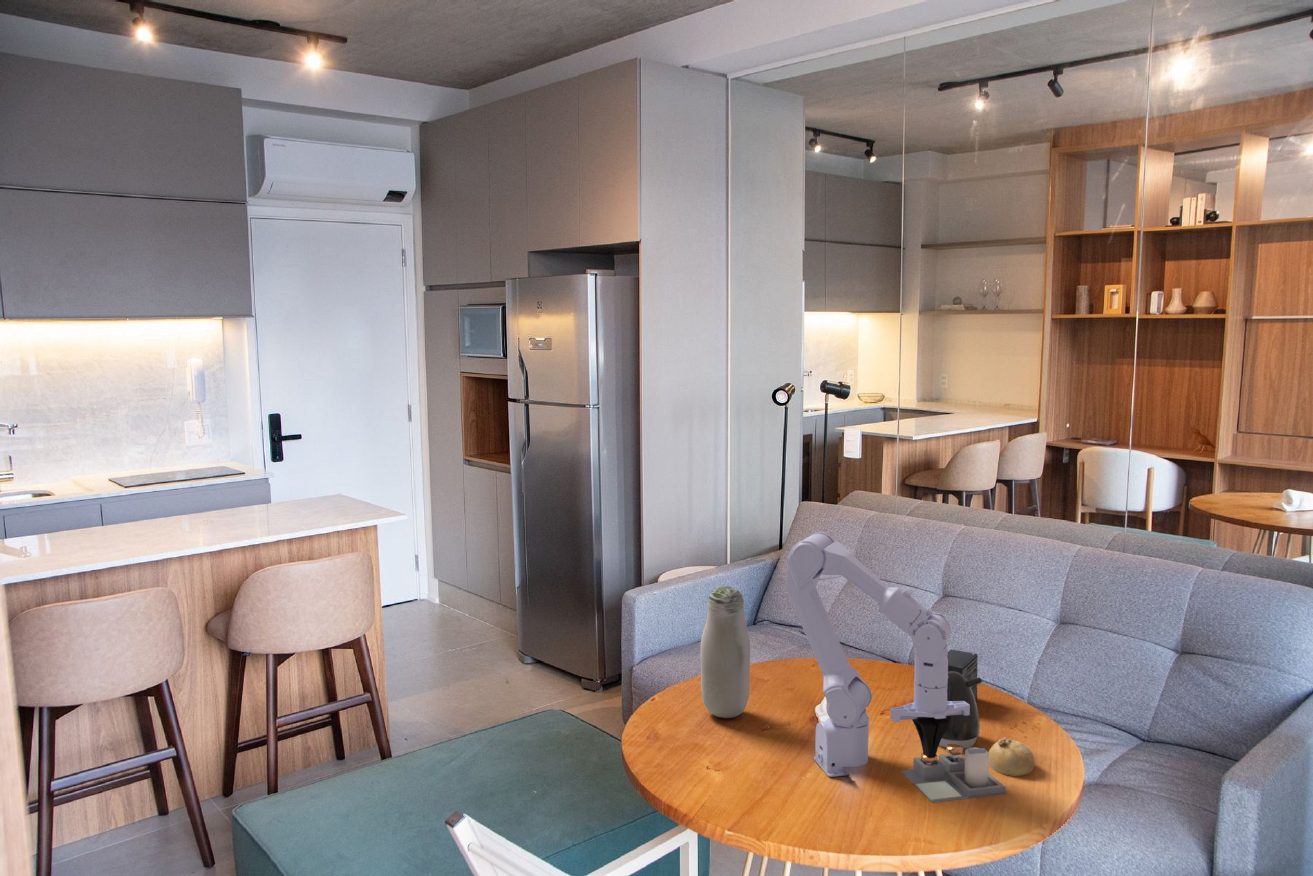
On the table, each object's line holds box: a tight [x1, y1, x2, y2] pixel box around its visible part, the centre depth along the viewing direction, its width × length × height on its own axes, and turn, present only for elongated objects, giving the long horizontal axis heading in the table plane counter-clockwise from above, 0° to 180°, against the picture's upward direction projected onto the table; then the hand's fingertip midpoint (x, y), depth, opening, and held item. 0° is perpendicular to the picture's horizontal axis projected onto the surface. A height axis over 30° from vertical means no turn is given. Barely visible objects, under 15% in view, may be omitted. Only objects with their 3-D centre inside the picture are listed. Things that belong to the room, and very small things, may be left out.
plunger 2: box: [945, 744, 964, 762], centre depth 170 cm, size 3×3×3 cm
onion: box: [988, 736, 1036, 777], centre depth 172 cm, size 8×8×7 cm
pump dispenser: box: [938, 671, 983, 750], centre depth 183 cm, size 10×10×15 cm
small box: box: [947, 649, 979, 701], centre depth 205 cm, size 11×6×10 cm, turn 144°
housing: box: [899, 753, 1008, 804], centre depth 166 cm, size 14×12×4 cm
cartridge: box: [964, 747, 990, 788], centre depth 165 cm, size 4×4×6 cm
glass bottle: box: [700, 585, 751, 719], centre depth 199 cm, size 10×10×28 cm
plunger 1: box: [920, 752, 938, 765], centre depth 169 cm, size 3×3×3 cm
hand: (929, 755), depth 169 cm, fingers closed, pressing on plunger 1
